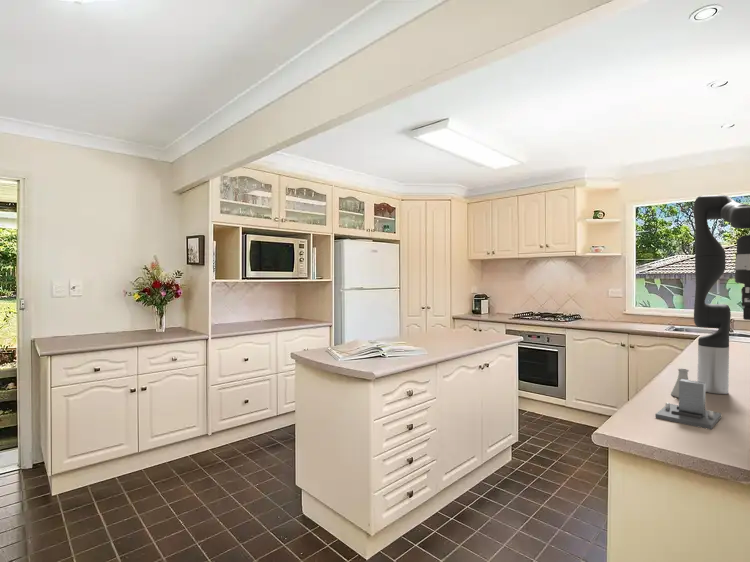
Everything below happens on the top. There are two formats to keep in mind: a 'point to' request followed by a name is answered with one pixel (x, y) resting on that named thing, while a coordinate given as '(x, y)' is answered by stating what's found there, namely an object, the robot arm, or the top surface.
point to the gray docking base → (688, 416)
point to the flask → (682, 375)
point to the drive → (692, 397)
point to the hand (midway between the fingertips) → (749, 318)
